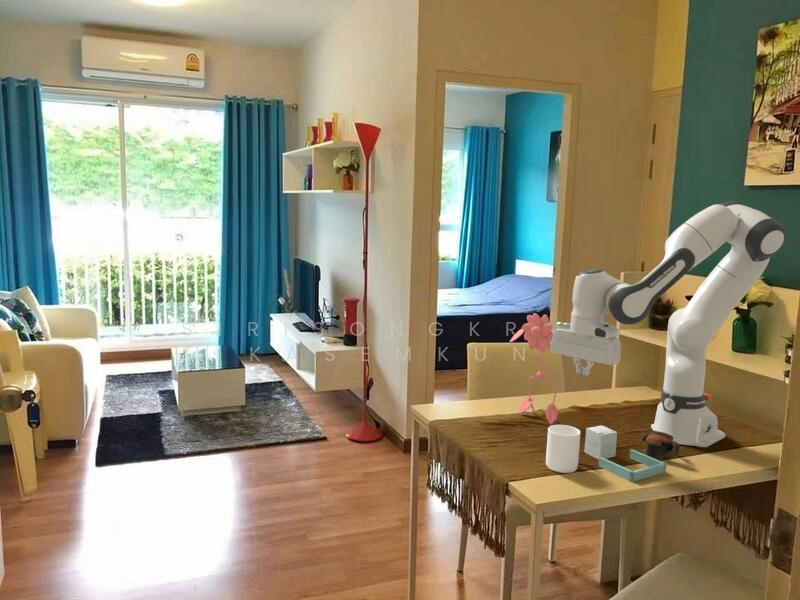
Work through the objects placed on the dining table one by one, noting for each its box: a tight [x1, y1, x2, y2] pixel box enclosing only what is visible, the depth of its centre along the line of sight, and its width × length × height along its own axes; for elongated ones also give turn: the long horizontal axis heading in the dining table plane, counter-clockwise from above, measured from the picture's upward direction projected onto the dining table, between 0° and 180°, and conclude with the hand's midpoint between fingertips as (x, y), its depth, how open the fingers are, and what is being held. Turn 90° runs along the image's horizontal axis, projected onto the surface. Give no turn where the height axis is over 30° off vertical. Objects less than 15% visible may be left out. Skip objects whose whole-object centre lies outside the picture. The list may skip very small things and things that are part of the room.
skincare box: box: [584, 425, 618, 461], centre depth 180 cm, size 6×6×7 cm
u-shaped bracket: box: [598, 448, 667, 483], centre depth 171 cm, size 13×11×2 cm
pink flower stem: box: [509, 312, 559, 432], centre depth 204 cm, size 15×26×35 cm, turn 39°
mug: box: [545, 424, 581, 474], centre depth 172 cm, size 12×8×10 cm
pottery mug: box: [641, 429, 681, 462], centre depth 180 cm, size 12×10×8 cm
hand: (582, 373), depth 185 cm, fingers closed
